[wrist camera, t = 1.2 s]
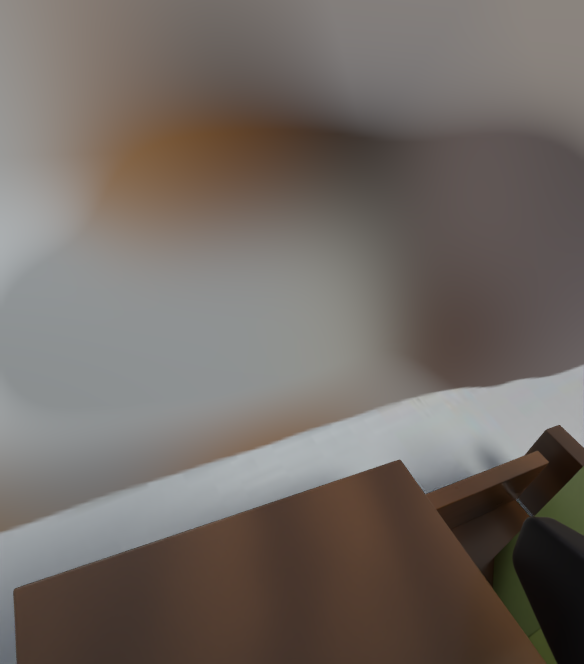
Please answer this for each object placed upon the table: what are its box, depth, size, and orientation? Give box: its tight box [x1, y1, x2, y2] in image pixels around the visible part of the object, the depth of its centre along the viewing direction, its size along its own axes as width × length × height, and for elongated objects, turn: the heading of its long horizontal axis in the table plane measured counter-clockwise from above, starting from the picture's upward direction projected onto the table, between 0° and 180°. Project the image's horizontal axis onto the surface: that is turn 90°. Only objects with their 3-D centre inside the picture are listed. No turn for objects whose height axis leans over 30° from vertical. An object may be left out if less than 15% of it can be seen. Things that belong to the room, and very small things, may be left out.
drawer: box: [425, 425, 584, 588], centre depth 21 cm, size 15×12×5 cm
